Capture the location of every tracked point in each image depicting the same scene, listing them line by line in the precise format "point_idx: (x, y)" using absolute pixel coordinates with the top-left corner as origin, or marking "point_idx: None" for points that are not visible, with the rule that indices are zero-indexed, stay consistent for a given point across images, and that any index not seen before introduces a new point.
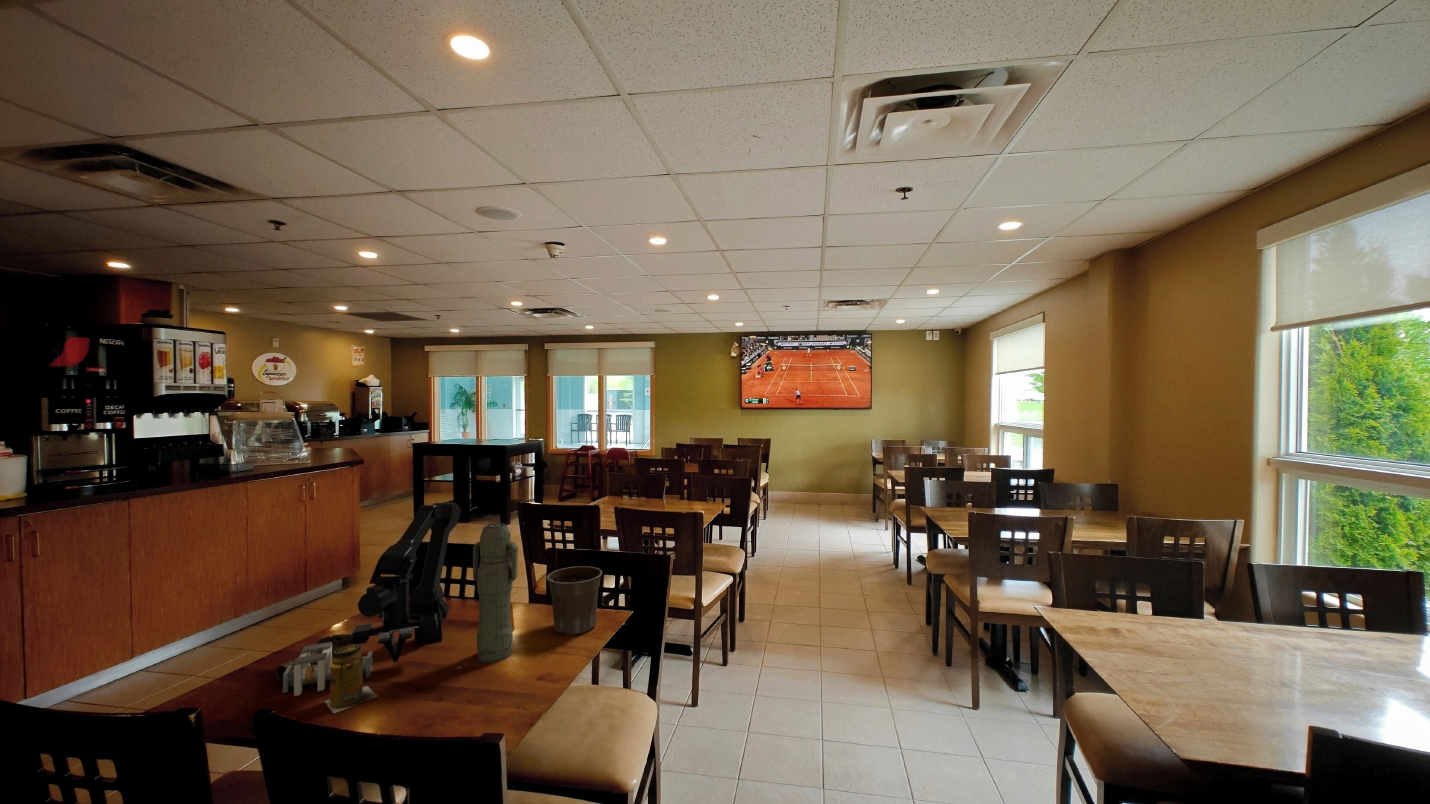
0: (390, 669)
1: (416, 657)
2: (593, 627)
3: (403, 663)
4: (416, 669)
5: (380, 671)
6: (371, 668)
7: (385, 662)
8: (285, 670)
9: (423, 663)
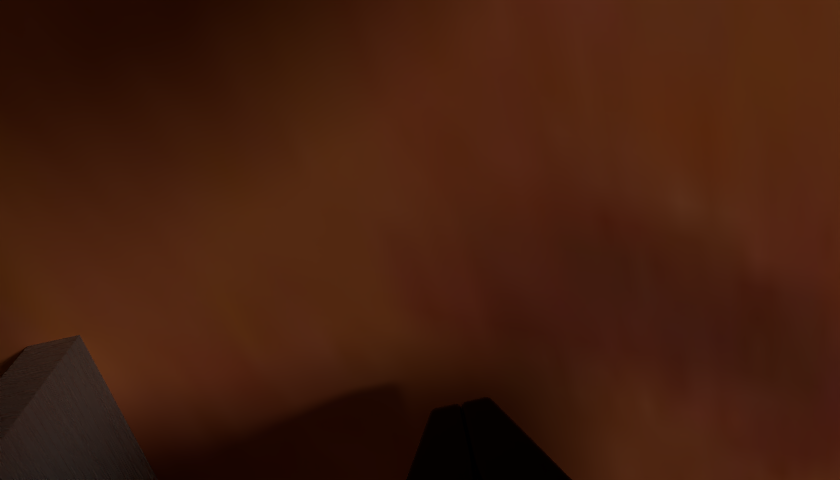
0: (398, 421)
1: (718, 105)
2: None
3: (538, 282)
4: (735, 472)
5: (275, 449)
6: (107, 436)
7: (208, 178)
8: None
9: (820, 341)
